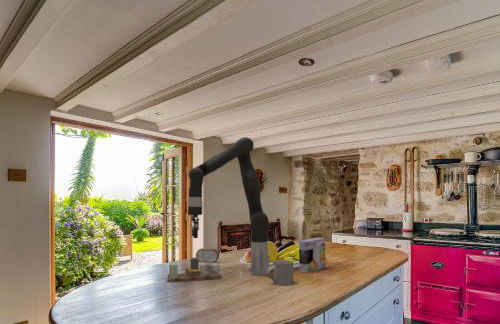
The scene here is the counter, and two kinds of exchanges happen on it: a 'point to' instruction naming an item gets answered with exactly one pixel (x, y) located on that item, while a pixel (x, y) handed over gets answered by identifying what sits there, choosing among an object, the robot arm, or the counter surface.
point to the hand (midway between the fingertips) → (194, 237)
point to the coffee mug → (281, 272)
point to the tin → (207, 255)
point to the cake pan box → (311, 255)
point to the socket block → (173, 270)
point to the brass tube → (193, 267)
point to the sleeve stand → (200, 274)
